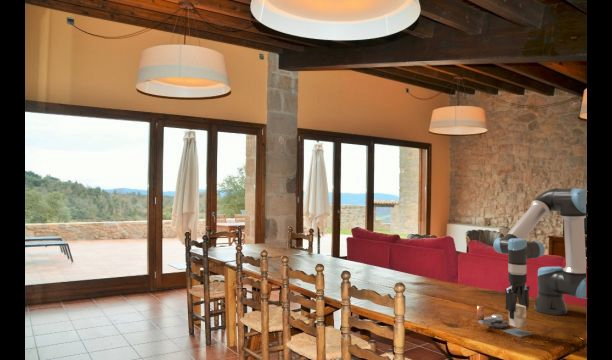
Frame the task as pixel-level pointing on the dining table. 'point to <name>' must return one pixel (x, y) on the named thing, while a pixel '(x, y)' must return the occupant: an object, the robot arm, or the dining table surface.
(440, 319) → the dining table surface
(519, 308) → the block
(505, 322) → the crank base
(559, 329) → the dining table surface
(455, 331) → the dining table surface
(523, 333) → the pad
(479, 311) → the crank
